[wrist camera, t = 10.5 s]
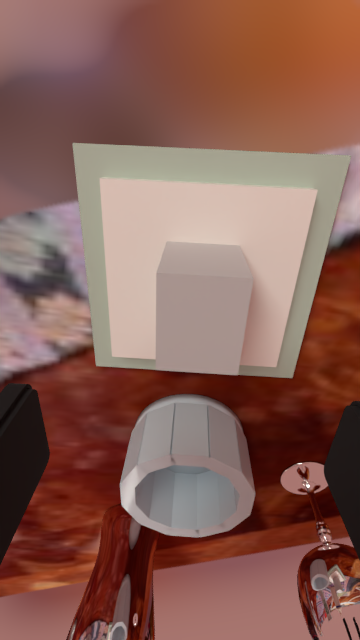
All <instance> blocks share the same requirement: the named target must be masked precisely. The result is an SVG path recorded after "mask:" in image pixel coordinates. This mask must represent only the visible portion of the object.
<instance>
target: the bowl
mask: <svg viewBox="0 0 360 640" xmlns="http://www.w3.org/2000/svg"><path fill="white" fill-rule="evenodd" d="M120 493H121V505H122V507H123V508H124V509H125V510H126V511H127V512H128V513H129V514H130V515H131V516H132V517H133V518H134V519H135V520H136V521H137V522H138V523H140V524H141V525H143V526H146V527H148V528H151V529H153V530H156V531H158V532H161V533H163V534H166V535H167V534H168V535H172V536H185V537H198V538H199V537H204V536H208V535H213V534H217V533H221V532H226V531H229V530H231V529H232V528H234V527H235V526H236V525H238V524H239V523H240V522H242V521H243V520H244V519H246V518H247V517H248V516H250V514H251V510H252V506H253V502H254V498H255V488H254V482H253V476H252V470H251V464H250V458H249V452H248V446H247V440H246V437H245V436H244V434H243V428H242V424H241V422H240V420H239V418H238V417H237V415H236V414H235V413H234V412H233V411H232V410H231V409H230V408H229V407H227V406H226V405H224V404H223V403H221V402H219V401H217V400H215V399H212V398H209V397H206V396H202V395H195V394H178V395H172V396H168V397H164V398H161V399H159V400H157V401H155V402H153V403H152V404H150V405H149V406H148V407H146V408H145V409H144V410H143V411H142V412H141V414H140V415H139V417H138V419H137V421H136V425H135V428H134V429H133V430H132V434H131V438H130V443H129V447H128V451H127V456H126V460H125V464H124V469H123V473H122V477H121V482H120Z"/></svg>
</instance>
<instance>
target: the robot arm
mask: <svg viewBox="0 0 360 640" xmlns="http://www.w3.org/2000/svg"><path fill="white" fill-rule="evenodd" d="M49 453H50V452H49V446H48V442H47V437H46V432H45V427H44V422H43V417H42V413H41V408H40V403H39V398H38V393H37V391H36V390H34V389H32V387H31V386H30V385H29V384H13V383H10V384H8V385H7V386H6V387H5V388H4V389H3V390H2V392H1V393H0V564H1V562H2V560H3V558H4V556H5V553H6V551H7V549H8V547H9V545H10V543H11V541H12V538H13V536H14V534H15V532H16V530H17V528H18V526H19V523H20V521H21V519H22V517H23V515H24V513H25V511H26V508H27V506H28V504H29V502H30V500H31V498H32V496H33V493H34V491H35V489H36V487H37V485H38V483H39V481H40V478H41V476H42V474H43V472H44V470H45V468H46V466H47V463H48V460H49ZM324 476H325V479H326V481H327V484H328V486H329V489H330V491H331V493H332V496H333V498H334V501H335V503H336V505H337V508H338V510H339V512H340V515H341V517H342V520H343V522H344V524H345V527H346V529H347V531H348V534H349V536H350V539H351V541H352V543H353V546H354V548H355V551H356V553H357V555H358V558H359V560H360V401H353V402H352V403H351V405H350V406H346V408H345V409H344V412H343V415H342V418H341V420H340V423H339V426H338V429H337V431H336V434H335V437H334V440H333V442H332V445H331V448H330V451H329V453H328V456H327V459H326V462H325V464H324Z"/></svg>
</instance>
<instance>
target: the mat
mask: <svg viewBox="0 0 360 640" xmlns="http://www.w3.org/2000/svg"><path fill="white" fill-rule="evenodd" d="M73 152H74V162H75V171H76V181H77V190H78V199H79V209H80V218H81V228H82V237H83V247H84V256H85V265H86V275H87V284H88V294H89V303H90V313H91V322H92V332H93V341H94V350H95V360H96V366H106V367H122V368H138V369H154V370H155V369H156V359H140V358H125V357H112V350H111V336H110V321H109V307H108V293H107V279H106V265H105V250H104V236H103V222H102V208H101V194H100V179H99V178H103V177H110V178H129V179H148V180H166V181H185V182H204V183H223V184H242V185H261V186H280V187H299V188H313V189H316V190H318V191H317V195H316V200H315V204H314V208H313V213H312V217H311V221H310V225H309V230H308V234H307V238H306V242H305V247H304V251H303V255H302V259H301V264H300V268H299V272H298V277H297V281H296V285H295V289H294V294H293V298H292V302H291V306H290V311H289V315H288V319H287V323H286V328H285V332H284V336H283V341H282V345H281V349H280V353H279V358H278V362H277V366H276V367H263V366H248V365H239V370H238V375H249V376H265V377H281V378H293V374H294V370H295V366H296V363H297V359H298V355H299V351H300V347H301V344H302V340H303V336H304V332H305V329H306V325H307V321H308V317H309V313H310V310H311V306H312V302H313V298H314V295H315V291H316V287H317V283H318V279H319V276H320V272H321V268H322V264H323V261H324V257H325V253H326V249H327V245H328V242H329V238H330V234H331V230H332V227H333V223H334V219H335V215H336V211H337V208H338V204H339V200H340V196H341V193H342V189H343V185H344V181H345V177H346V174H347V170H348V166H349V162H350V159H351V156H344V155H323V154H301V153H279V152H256V151H234V150H214V149H213V150H212V149H192V148H171V147H149V146H148V147H147V146H127V145H105V144H83V143H73Z"/></svg>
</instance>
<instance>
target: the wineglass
mask: <svg viewBox="0 0 360 640" xmlns="http://www.w3.org/2000/svg"><path fill="white" fill-rule="evenodd" d="M280 481H281V484H282V486H283V487H284V488H285V489H286V490H287V491H289V492H291V493H294V494H300V495H307V494H308V496H309V498H310V501H311V504H312V507H313V511H314V514H315V520H316V530H317V535H318V537H319V539H320V541H321V542H322V543H323V545H320V546H318V547H316V548H314V549H312V550H311V551H310V552H308V553H307V554H306V555H305V556H304V557H303V559H302V561H301V563H300V566H299V569H298V574H297V585H298V593H299V600H300V603H301V608H302V612H303V615H304V618H305V621H306V624H307V627H308V630H309V633H310V635H311V638H312V640H360V560H359V558H358V555H357V553H356V551H355V548H354V547H351V546H348V545H344V544H338V543H331V540H332V537H331V532H330V529H329V527H328V525H327V524H326V523H325V521H324V519H323V517H322V515H321V513H320V511H319V508H318V505H317V502H316V498H315V494H314V493H317V492H319V491H321V490H323V489H325V488H326V487H327V486H328V484H327V481H326V479H325V476H324V465H323V464H321V463H317V462H300V463H297V464H294V465H292V466H290V467H288V468H287V469H286V470H285V471H284V472H283V473H282V475H281V478H280Z"/></svg>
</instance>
